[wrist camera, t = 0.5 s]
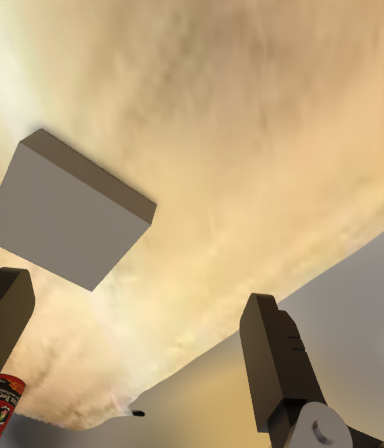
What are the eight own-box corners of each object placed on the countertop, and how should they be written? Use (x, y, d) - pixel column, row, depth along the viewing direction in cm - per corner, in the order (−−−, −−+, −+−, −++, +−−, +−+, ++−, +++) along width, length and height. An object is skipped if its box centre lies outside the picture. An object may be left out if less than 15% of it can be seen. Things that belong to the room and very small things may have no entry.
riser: (41, 128, 28) (19, 141, 24) (156, 205, 32) (151, 225, 29) (0, 216, 34) (-21, 236, 31) (101, 269, 39) (91, 291, 36)
